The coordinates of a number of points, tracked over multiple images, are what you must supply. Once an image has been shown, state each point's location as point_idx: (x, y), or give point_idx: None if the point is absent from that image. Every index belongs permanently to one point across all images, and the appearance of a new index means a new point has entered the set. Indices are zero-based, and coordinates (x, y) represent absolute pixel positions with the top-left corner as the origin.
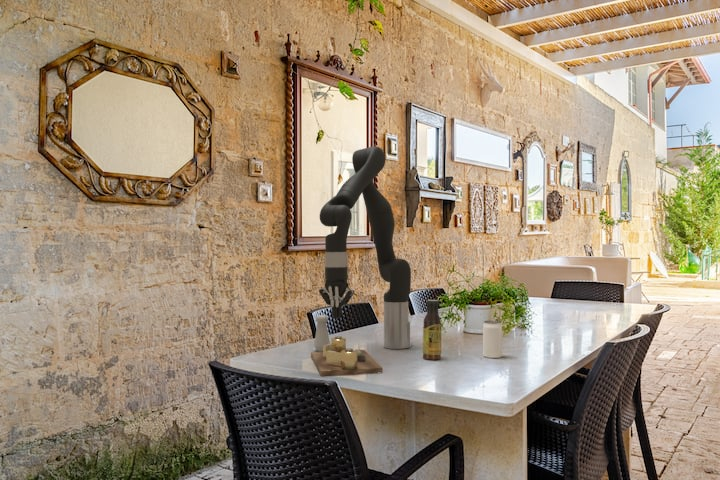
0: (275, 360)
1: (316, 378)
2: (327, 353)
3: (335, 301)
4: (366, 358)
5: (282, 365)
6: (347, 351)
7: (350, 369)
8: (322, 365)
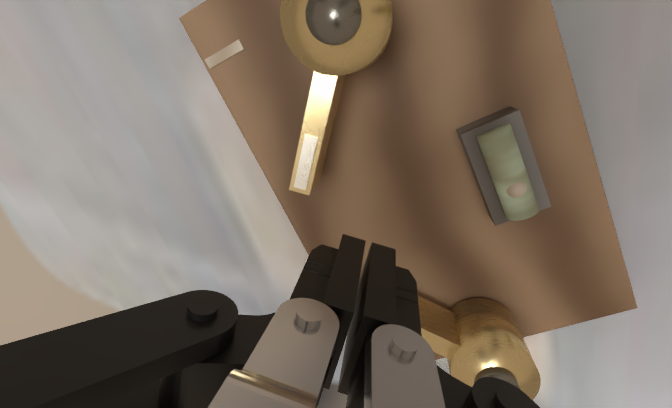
0: (86, 145)
1: None
2: None
3: (290, 379)
4: (540, 123)
5: (165, 228)
6: None
7: None
8: None
